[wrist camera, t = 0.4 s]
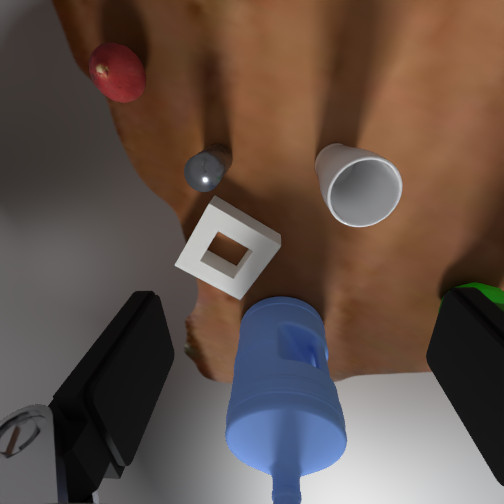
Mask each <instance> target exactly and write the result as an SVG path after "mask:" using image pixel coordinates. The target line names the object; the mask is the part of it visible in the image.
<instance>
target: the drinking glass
mask: <svg viewBox="0 0 504 504" xmlns="http://www.w3.org/2000/svg"><path fill="white" fill-rule="evenodd" d="M315 171H316V174H317V176H318V181H319V186H320V190H321V194H322V197H323V199H324V202H325V204H326V205H327V207H328V209H329V210H330V211H331V213H332V214H333V216H334V217H335V218H336V219H337V220H338V221H340V222H341V223H343V224H346V225H348V226H353V227H365V226H370V225H373V224H375V223H378V222H380V221H381V220H383V219H384V218H386V217H387V216H388V215H389V214H390V213H391V212H392V211H393V210H394V209H395V207H396V206H397V204H398V202H399V200H400V197H401V193H402V178H401V175H400V173H399V171H398V169H397V168H396V167H395V166H394V165H393V164H392V163H391V162H390V161H388V160H387V159H385V158H384V157H382V156H380V155H379V154H377V153H374V152H372V151H369V150H366V149H361V148H356V147H350V146H346V145H344V144H340V143H335V144H331V145H328V146H326V147H325V148H323V149H322V150H321V151H320V152H319V154H318V156H317V158H316V161H315Z"/></svg>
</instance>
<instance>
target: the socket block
mask: <svg viewBox="0 0 504 504" xmlns="http://www.w3.org/2000/svg"><path fill="white" fill-rule="evenodd" d="M218 231H219V232H221V233H222V234H224V235H226V236H228V237H229V238H231V239H233V240H235V241H236V242H238V243H240V244H242V245H243V246H245V247H247V248H249V249H248V250H247V252H246V253H245V255H244V256H243V258H242V259H241V260H240V262H239V263H238V265H237V266H236V265H234V264H232V263H230V262H228V261H227V260H225V259H223V258H221V257H219V256H217V255H216V254H214V253H212V252H210V251H208V250H207V248H208V247H209V245H210V243H211V242H212V240H213V238H214V237H215V235H216V233H217V232H218ZM280 247H281V235H280V234H279V233H277V232H275V231H274V230H272V229H270V228H269V227H267V226H265V225H264V224H262V223H260V222H259V221H257V220H255V219H254V218H252V217H250V216H249V215H247V214H245V213H244V212H242V211H240V210H239V209H237V208H235V207H234V206H232V205H230V204H229V203H227V202H225V201H224V200H222V199H220V198H219V197H217V196H215V195H214V197H213V198H212V200H211V201H210V203H209V204H208V206H207V208H206V210H205V212H204V213H203V215H202V217H201V219H200V221H199V222H198V224H197V226H196V228H195V230H194V231H193V233H192V235H191V237H190V239H189V240H188V242H187V244H186V246H185V248H184V249H183V251H182V253H181V255H180V257H179V258H178V260H177V262H176V264H175V266H177V267H179V268H180V269H182V270H184V271H186V272H188V273H190V274H192V275H194V276H196V277H197V278H199V279H201V280H203V281H205V282H207V283H209V284H211V285H213V286H214V287H216V288H218V289H220V290H222V291H224V292H226V293H228V294H230V295H231V296H233V297H235V298H237V299H239V300H241V299H242V297H243V296H244V295H245V293H246V292H247V291H248V289H249V288H250V287H251V285H252V284H253V283H254V281H255V280H256V279H257V278H258V276H259V275H260V274H261V272H262V271H263V270H264V268H265V267H266V266H267V264H268V263H269V262H270V260H271V259H272V258H273V256H274V255H275V254H276V252H277V251H278V250H279V249H280Z"/></svg>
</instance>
